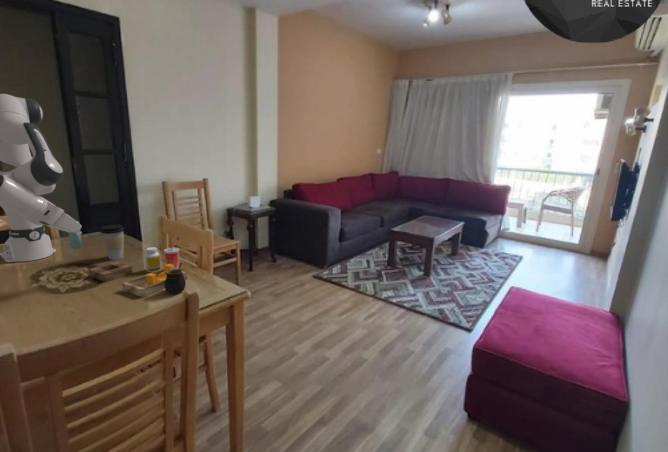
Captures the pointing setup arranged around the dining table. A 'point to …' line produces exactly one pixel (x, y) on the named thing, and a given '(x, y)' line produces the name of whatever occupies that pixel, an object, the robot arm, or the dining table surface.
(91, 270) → the socket block
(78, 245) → the peg
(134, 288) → the clamp corral
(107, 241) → the coffee cup
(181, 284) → the mate gourd
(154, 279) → the pipe clamp
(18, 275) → the dining table surface
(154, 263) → the supplement bottle
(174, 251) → the beverage cup
